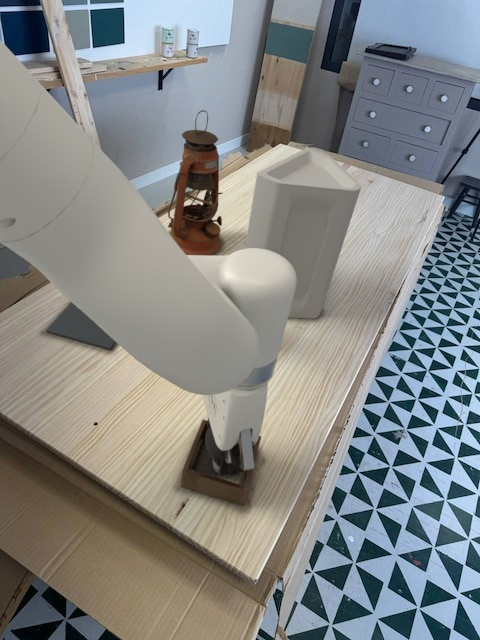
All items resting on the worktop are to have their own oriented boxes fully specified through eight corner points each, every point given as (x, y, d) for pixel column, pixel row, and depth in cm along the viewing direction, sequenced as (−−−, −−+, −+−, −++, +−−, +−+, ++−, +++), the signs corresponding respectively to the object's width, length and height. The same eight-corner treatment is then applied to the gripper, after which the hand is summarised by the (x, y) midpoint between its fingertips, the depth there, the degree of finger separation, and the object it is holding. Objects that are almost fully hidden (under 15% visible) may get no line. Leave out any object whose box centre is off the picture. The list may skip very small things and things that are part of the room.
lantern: (195, 267, 103) (207, 129, 84) (150, 245, 107) (151, 109, 88) (236, 239, 115) (255, 112, 95) (193, 220, 119) (203, 94, 100)
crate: (242, 506, 62) (247, 490, 60) (180, 486, 63) (182, 470, 61) (257, 452, 69) (261, 436, 66) (200, 435, 70) (202, 419, 67)
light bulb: (226, 494, 63) (235, 452, 57) (192, 472, 65) (198, 429, 59) (247, 465, 67) (258, 423, 61) (215, 445, 69) (223, 401, 63)
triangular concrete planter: (296, 339, 89) (335, 206, 71) (233, 305, 95) (255, 173, 77) (337, 295, 102) (379, 173, 84) (280, 267, 108) (308, 147, 90)
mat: (110, 350, 81) (110, 348, 80) (46, 332, 82) (46, 330, 81) (142, 303, 91) (142, 301, 91) (85, 288, 92) (85, 286, 92)
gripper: (193, 308, 56) (185, 402, 68) (230, 424, 44) (212, 515, 56) (252, 304, 59) (234, 396, 70) (302, 413, 46) (270, 503, 58)
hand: (224, 448), depth 63 cm, fingers open, 6 cm apart
